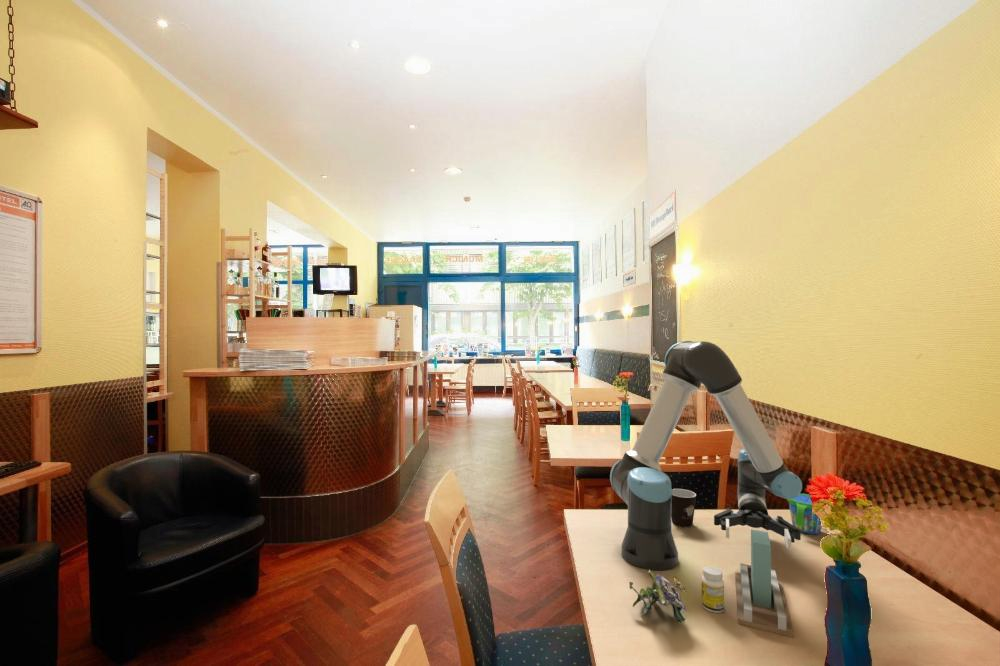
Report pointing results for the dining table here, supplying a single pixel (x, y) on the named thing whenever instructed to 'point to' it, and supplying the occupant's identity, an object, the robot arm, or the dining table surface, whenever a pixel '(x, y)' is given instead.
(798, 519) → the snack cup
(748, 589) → the track
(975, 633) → the dining table surface
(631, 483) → the robot arm
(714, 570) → the supplement bottle
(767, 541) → the teal rectangular block
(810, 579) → the dining table surface
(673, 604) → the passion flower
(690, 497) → the coffee mug
